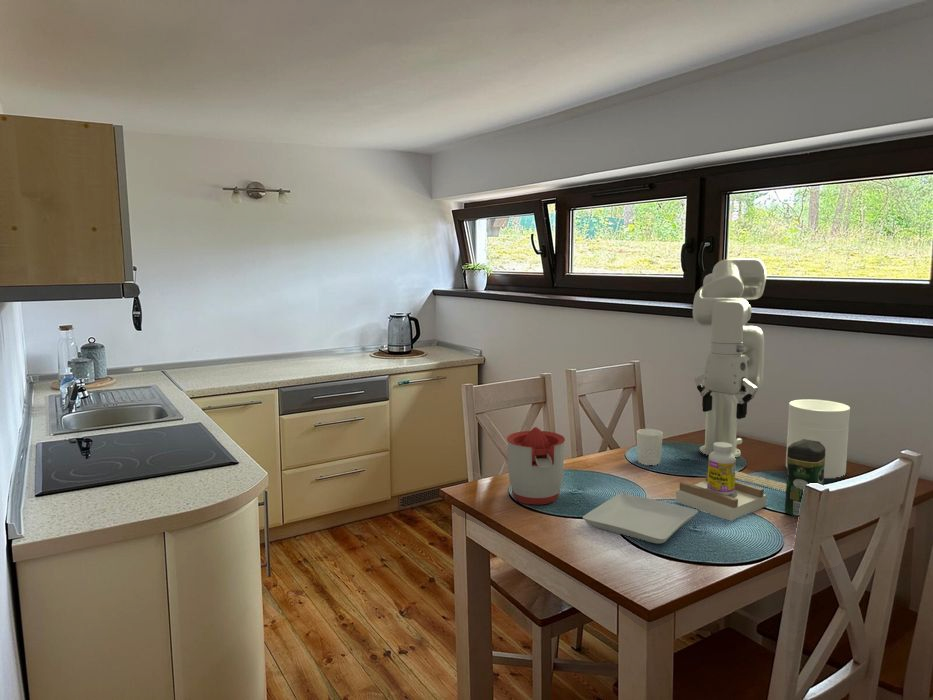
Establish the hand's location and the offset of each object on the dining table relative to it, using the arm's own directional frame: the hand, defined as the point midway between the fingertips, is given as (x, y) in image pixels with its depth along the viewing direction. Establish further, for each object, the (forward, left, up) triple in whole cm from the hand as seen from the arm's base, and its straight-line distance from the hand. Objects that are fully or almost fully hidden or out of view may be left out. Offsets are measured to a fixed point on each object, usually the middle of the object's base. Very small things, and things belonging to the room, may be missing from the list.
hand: (723, 414), depth 164 cm
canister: (-47, +1, -24) cm, 53 cm away
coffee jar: (-11, +16, -24) cm, 31 cm away
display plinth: (0, 0, -24) cm, 24 cm away
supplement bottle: (0, 0, -21) cm, 21 cm away
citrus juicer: (+36, -32, -24) cm, 54 cm away
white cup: (-13, -34, -24) cm, 44 cm away
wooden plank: (-24, -3, -25) cm, 35 cm away
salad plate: (+27, -4, -25) cm, 37 cm away
